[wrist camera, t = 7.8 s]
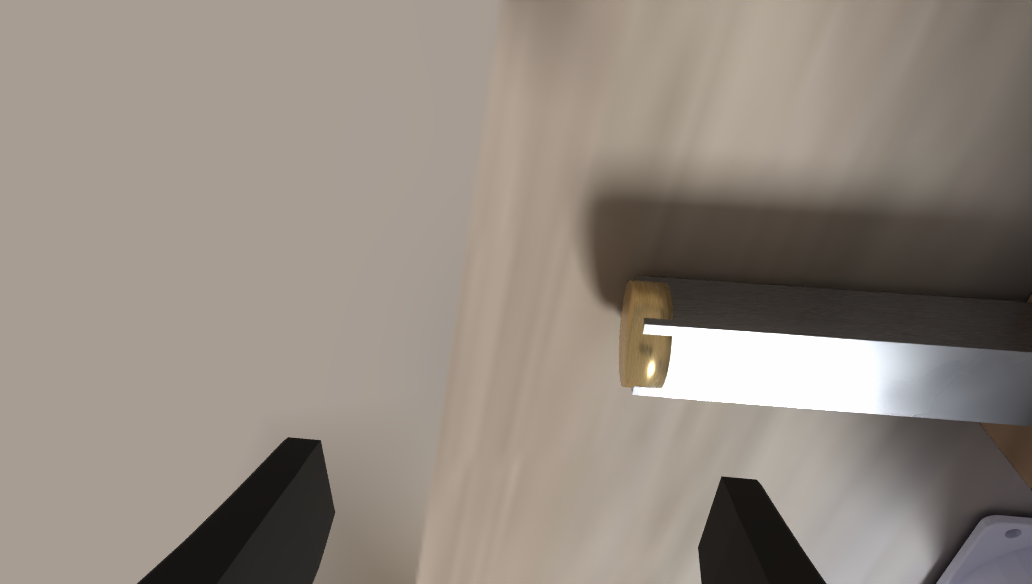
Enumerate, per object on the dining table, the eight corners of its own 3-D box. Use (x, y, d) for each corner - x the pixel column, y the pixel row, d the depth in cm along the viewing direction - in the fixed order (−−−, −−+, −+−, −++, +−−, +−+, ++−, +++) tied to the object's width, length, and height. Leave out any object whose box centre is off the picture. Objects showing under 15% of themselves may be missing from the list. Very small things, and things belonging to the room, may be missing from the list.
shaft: (1130, 294, 17) (1226, 363, 14) (1072, 377, 18) (1150, 452, 16) (629, 260, 18) (637, 320, 15) (617, 343, 19) (622, 409, 17)
